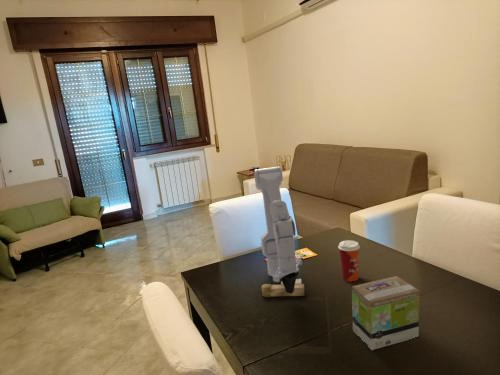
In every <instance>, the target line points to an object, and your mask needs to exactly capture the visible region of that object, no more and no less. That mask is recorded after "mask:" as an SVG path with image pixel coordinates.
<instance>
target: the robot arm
mask: <svg viewBox="0 0 500 375" xmlns="http://www.w3.org/2000/svg"><path fill="white" fill-rule="evenodd" d="M253 172H254V173H253V175H254V176H253V177H254V183H255V188H256V189H257V190H259V191H261V194H262V198H263V199H262V200H263V208H264V209H263V210H264V216H265V223H266V231H265V232H263V234H262V235H261V237H260V240H261V242H260V243H261V244H260V245H261V246H260V247H261V251H262V254H263V256H264V257H266V264H267V265H266V266H267V274H268V276H270V277H272V281H273V282H274V283H279V282H281V281H282V283H283V285H284V287H285V290H286V292H287V293H290V294H292V293H293V291H294V286H295V281H296V279H298V278H297V277H298V276H299V271H300V268H299V266H302V265H303V260H302V258H297V257H296V250H295V249H296V248H295V246H296V245H295V237H296V225H295V221H294V219H293V218H292V216H291V215H290V212H289V210H288V207H287V203H286V202H285V201H284V200H282V196H281V190H280V187H281V185H282V182H283V177H284V176H283V175H284V174H283V170H282V168H281V167H280V166H279V165H277V166H273V167H265V168H258V169H257V168H255V169H254V171H253Z"/></svg>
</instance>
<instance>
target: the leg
mask: <svg viewBox="0 0 500 375" xmlns="http://www.w3.org/2000/svg"><path fill="white" fill-rule="evenodd" d="M261 293H262V294H261V295H262V297H264V298H270V297H298V296H299V297H301V296H302V297H303V296H305V284H304V283H301V284H295V286H294V291H293V293H292V294H290V293H287V292H286V290H285V287H284V285H281V284H270V283H265V284H262V285H261Z"/></svg>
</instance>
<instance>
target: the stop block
mask: <svg viewBox="0 0 500 375" xmlns="http://www.w3.org/2000/svg"><path fill="white" fill-rule="evenodd" d="M295 284H302V278H296V281H295ZM280 285H283V283H282V281H281V280H280Z"/></svg>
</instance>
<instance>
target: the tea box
mask: <svg viewBox="0 0 500 375" xmlns="http://www.w3.org/2000/svg"><path fill="white" fill-rule="evenodd" d="M351 307H352V310H351V312H352V331H353V332H354V333H355V334H356V336H357V337H358V336H359V337H360V338H361V339H360V338H359V337H358V338H359V339H360V340H361V341H362V342H363V343H364V342H365V343H366V344H367V345H368V346H367V345H366V344H365V343H364V344H365V345H366V346H367V347H368V348H369V350H370V351H375V350H377V349H381V348H384V347H388V346H391V345H395V344H398V343H402V342H405V341H409V339H410V340H413V339H412V338H414V339H416V338H415V337H418V336H419V332H420V330H419V329H420V290H419V289H418V288H416V287H414V286H413V285H412V284H410V283H409V282H407V281H405V280H404V279H402V278H401V277H399V276H398V275H395V276H390V277H386V278H382V279H377V280H372V281H368V282H365V283H364V282H363V283H359V284H355V285H352V286H351ZM418 338H419V337H418Z"/></svg>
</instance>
